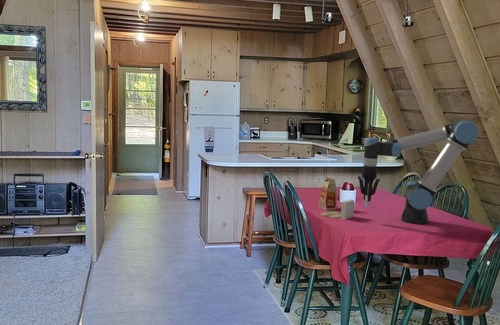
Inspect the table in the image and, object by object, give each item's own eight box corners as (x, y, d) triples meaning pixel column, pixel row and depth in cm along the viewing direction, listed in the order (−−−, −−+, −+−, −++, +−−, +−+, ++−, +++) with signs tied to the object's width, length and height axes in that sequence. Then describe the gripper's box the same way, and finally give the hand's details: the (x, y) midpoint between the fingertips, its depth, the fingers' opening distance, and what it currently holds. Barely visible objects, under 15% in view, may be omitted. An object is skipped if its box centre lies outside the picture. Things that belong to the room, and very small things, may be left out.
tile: (353, 216, 284) (354, 200, 283) (344, 219, 276) (346, 202, 275) (348, 215, 286) (349, 199, 285) (340, 218, 278) (341, 201, 277)
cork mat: (348, 214, 288) (348, 214, 288) (336, 218, 277) (336, 218, 277) (330, 211, 296) (330, 210, 296) (318, 214, 285) (318, 214, 285)
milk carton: (325, 209, 299) (327, 178, 296) (317, 206, 307) (319, 175, 305) (337, 209, 302) (340, 177, 300) (330, 206, 311) (332, 175, 308)
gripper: (383, 166, 268) (380, 207, 271) (362, 163, 276) (359, 203, 279) (378, 167, 262) (374, 209, 265) (356, 164, 270) (353, 205, 274)
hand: (366, 206), depth 272 cm, fingers closed
